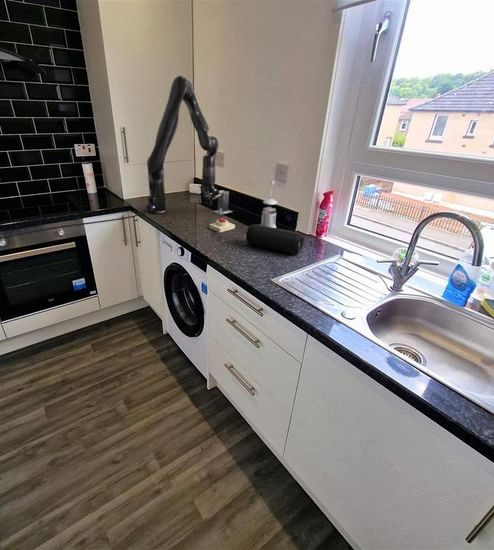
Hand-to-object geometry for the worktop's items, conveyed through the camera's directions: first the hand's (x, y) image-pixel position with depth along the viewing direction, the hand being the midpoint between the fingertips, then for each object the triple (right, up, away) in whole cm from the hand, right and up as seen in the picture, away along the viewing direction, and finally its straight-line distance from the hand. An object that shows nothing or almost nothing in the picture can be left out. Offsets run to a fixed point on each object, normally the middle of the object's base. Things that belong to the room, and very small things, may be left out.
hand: (208, 204), depth 183 cm
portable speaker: (+33, -30, -37) cm, 58 cm away
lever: (+5, +3, +3) cm, 6 cm away
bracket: (+9, -3, +11) cm, 14 cm away
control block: (+8, -16, -14) cm, 23 cm away
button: (+8, -13, -16) cm, 22 cm away
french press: (+34, -15, -9) cm, 38 cm away
